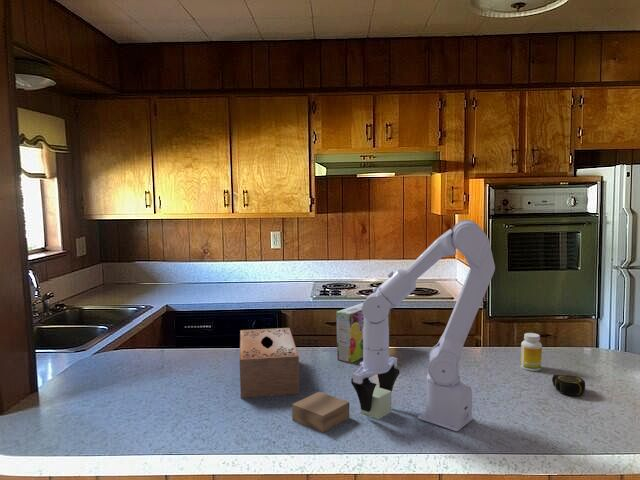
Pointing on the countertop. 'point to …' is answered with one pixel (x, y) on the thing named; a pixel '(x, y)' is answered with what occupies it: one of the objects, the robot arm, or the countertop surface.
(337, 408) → the walnut block
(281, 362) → the tissue box cover
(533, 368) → the supplement bottle
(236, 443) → the countertop surface
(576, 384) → the tape measure
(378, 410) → the sage cube
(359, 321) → the snack box
